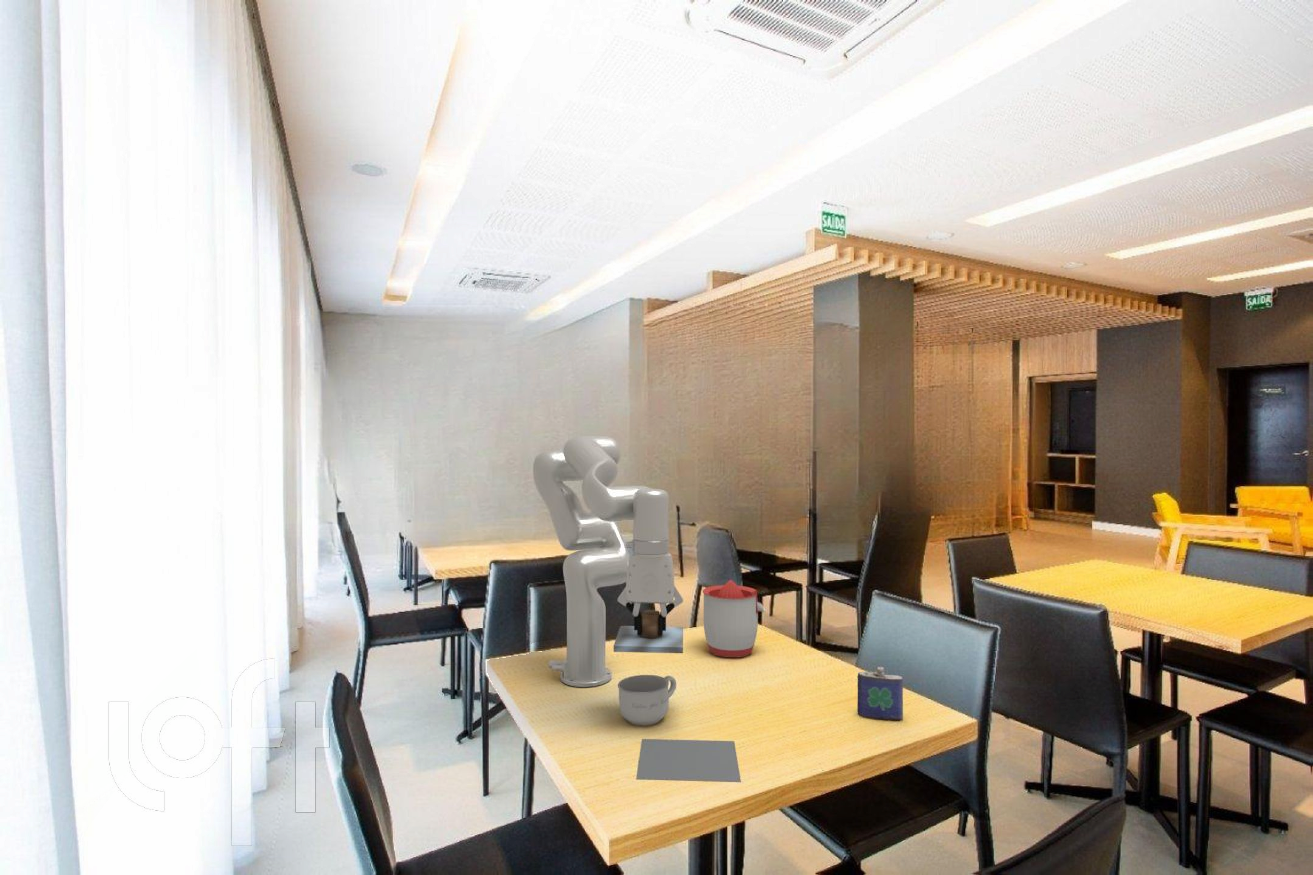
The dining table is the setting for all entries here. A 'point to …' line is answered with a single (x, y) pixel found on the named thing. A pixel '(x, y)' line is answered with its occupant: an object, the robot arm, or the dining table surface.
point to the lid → (649, 637)
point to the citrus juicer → (731, 619)
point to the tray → (688, 760)
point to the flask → (880, 695)
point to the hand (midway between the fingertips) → (650, 632)
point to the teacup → (645, 698)
